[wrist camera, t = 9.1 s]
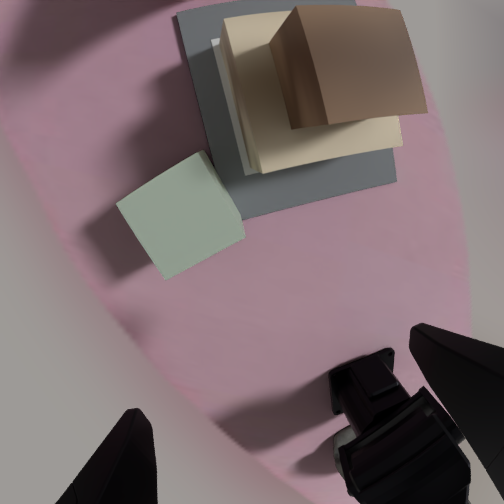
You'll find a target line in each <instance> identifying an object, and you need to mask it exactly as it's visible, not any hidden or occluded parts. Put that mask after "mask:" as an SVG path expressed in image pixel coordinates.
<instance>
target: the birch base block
mask: <svg viewBox="0 0 504 504" xmlns="http://www.w3.org/2000/svg"><path fill="white" fill-rule="evenodd" d="M290 13H291V11H280V12H268V13H259V14H251V15H244V16H237V17H231V18H225V19H224V20H223V25H222V30H221V36H220V41H219V46H220V49H221V53H222V57H223V61H224V65H225V69H226V72H227V76H228V80H229V84H230V88H231V92H232V96H233V100H234V104H235V108H236V112H237V116H238V120H239V124H240V128H241V132H242V136H243V140H244V144H245V148H246V152H247V156H248V161H249V165H250V168H252V169H254V170H256V171H258V172H260V173H263V174H264V173H268V172H272V171H277V170H281V169H285V168H290V167H294V166H298V165H303V164H308V163H312V162H317V161H322V160H327V159H332V158H337V157H342V156H347V155H352V154H358V153H363V152H369V151H375V150H381V149H387V148H393V147H399V146H403V142H402V136H401V130H400V124H399V118H398V116H388V117H379V118H371V119H363V120H355V121H348V122H341V123H335V124H329V125H321V126H313V127H306V128H299V129H293V130H291V126H290V122H289V118H288V114H287V110H286V106H285V102H284V98H283V94H282V90H281V86H280V82H279V78H278V75H277V71H276V67H275V63H274V60H273V56H272V53H271V49H270V46H269V42H270V40H271V39H272V38H273V36H274V35H275V33H276V32H277V30H278V29H279V28H280V26H281V25H282V24H283V22H284V21H285V19H286V18H287V17H288V15H289V14H290Z"/></svg>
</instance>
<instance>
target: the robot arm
mask: <svg viewBox="0 0 504 504" xmlns="http://www.w3.org/2000/svg"><path fill="white" fill-rule="evenodd" d="M409 349H410V352H411V354H412V355H413V357H414V359H415V361H416V362H417V364H418V366H419V368H420V370H421V371H422V373H423V375H424V377H425V379H426V380H427V382H428V384H429V385H430V387H431V388H432V390H433V391H434V393H435V394H436V395H437V397H438V398H439V400H440V401H441V403H442V404H443V405H444V407H445V408H446V410H447V411H448V413H449V414H450V416H451V417H452V418H451V417H450V416H449V414H448V413H447V412H446V411H445V410H444V408H443V407H442V406H441V405H440V404H439V403H438V402H437V400H436V399H435V398H434V397H433V396H432V395H431V394H430V392H429V391H428V390H427V389H426V388H425V387H424V386H423V387H421V388H420V389H419V391H418V392H417V393H416V394H415V395H413V396H412V397H411V396H410V395H409V394H408V392H407V391H406V390H405V388H404V387H403V386H402V385H401V383H400V382H399V381H398V379H397V378H396V377H395V375H394V374H393V367H394V355H395V351H394V350H393V349H392V348H387V349H385V350H382V351H380V352H378V353H375V354H373V355H371V356H368V357H366V358H363V359H361V360H358V361H355V362H353V363H350V364H348V365H345V366H342V367H340V368H337V369H334V370H332V371H331V372H330V373H329V383H330V393H331V403H332V411H333V413H334V415H339V414H341V413H344V414H345V416H346V418H347V420H348V422H349V423H350V425H351V427H352V429H353V431H354V433H355V435H356V438H355V439H353V440H352V441H350V442H349V443H347V444H345V445H342V446H340V447H339V448H338V451H339V455H340V456H339V458H340V462H341V466H342V470H343V475H344V479H345V483H346V487H347V492H348V494H349V495H350V496H352V497H355V499H356V500H357V501H358V502H359V503H360V504H471V503H470V501H469V500H468V495H469V484H470V482H471V470H470V462H469V460H468V459H467V457H466V456H465V454H464V453H463V452H462V450H461V449H460V447H459V446H458V444H460V443H461V442H462V441H463V440H464V439H465V438H466V439H467V441H468V443H469V444H470V446H471V447H472V449H473V450H474V452H475V453H476V455H477V456H478V458H479V460H480V461H481V463H482V465H483V466H484V468H485V469H486V471H487V473H488V475H489V476H490V478H491V480H492V481H493V483H494V484H495V486H496V488H497V490H498V491H499V493H500V495H501V497H502V498H503V500H504V348H502V347H499V346H496V345H492V344H489V343H486V342H483V341H479V340H476V339H473V338H469V337H466V336H463V335H460V334H457V333H453V332H450V331H447V330H444V329H441V328H437V327H434V326H431V325H428V324H425V323H419V324H417V325H415V326H413V327H412V328H411V330H410V340H409ZM335 374H336V375H335ZM452 419H453V420H454V421H455V422H454V421H453V420H452ZM455 423H456V424H457V425H456V424H455ZM458 427H459V428H458ZM460 430H461V431H460ZM462 433H463V434H462ZM464 436H465V437H464ZM55 504H158V500H157V466H156V457H155V448H154V439H153V429H152V426H151V423H150V422H149V420H148V419H147V418H146V417H145V415H144V414H143V412H142V411H141V410H140V409H139V408H134V409H128V410H126V411H125V413H124V414H123V415H122V417H121V418H120V419H119V421H118V422H117V423H116V425H115V426H114V427H113V429H112V430H111V431H110V433H109V434H108V435H107V437H106V438H105V439H104V441H103V442H102V443H101V445H100V446H99V447H98V448H97V450H96V451H95V453H94V454H93V455H92V456H91V458H90V459H89V460H88V462H87V463H86V464H85V466H84V467H83V468H82V470H81V471H80V472H79V474H78V475H77V476H76V478H75V479H74V480H73V483H71V484H70V486H69V487H68V488H67V490H66V491H65V492H64V493H63V495H62V496H61V497H60V498H59V500H58V501H57V502H56V503H55Z"/></svg>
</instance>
